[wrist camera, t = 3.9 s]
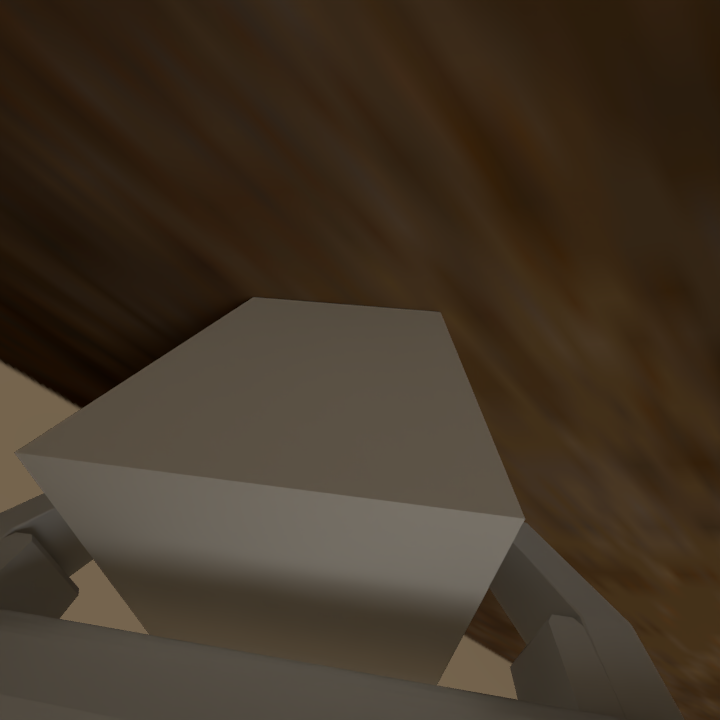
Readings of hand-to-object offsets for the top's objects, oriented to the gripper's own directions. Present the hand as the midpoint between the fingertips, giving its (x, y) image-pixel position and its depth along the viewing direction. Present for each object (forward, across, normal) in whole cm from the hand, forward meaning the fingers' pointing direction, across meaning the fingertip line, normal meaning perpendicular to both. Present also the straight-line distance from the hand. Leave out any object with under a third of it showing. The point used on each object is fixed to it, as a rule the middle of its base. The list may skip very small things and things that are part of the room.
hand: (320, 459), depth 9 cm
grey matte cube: (+4, 0, 0) cm, 4 cm away
